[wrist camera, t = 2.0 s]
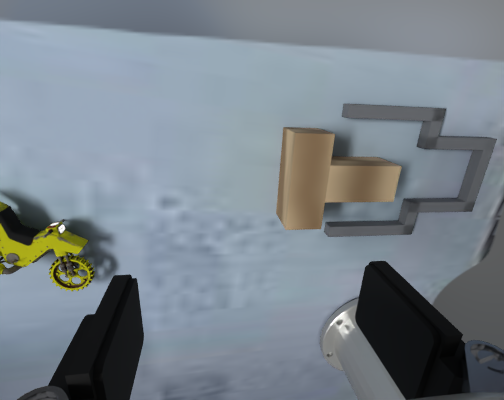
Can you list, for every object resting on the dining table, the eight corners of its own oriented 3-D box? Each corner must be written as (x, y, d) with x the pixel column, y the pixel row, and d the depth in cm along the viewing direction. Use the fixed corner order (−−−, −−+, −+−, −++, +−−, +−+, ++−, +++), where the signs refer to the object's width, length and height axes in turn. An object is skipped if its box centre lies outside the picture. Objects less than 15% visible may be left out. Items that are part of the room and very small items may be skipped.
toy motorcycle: (-75, 272, 24) (-65, 197, 22) (-39, 249, 27) (-27, 183, 25) (80, 306, 27) (100, 243, 25) (94, 281, 31) (113, 225, 29)
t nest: (324, 231, 32) (328, 236, 31) (343, 103, 28) (349, 104, 27) (456, 228, 35) (464, 232, 34) (495, 111, 30) (506, 111, 29)
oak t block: (276, 213, 31) (285, 229, 27) (283, 127, 28) (295, 132, 24) (366, 211, 32) (387, 227, 29) (383, 130, 29) (408, 136, 26)
